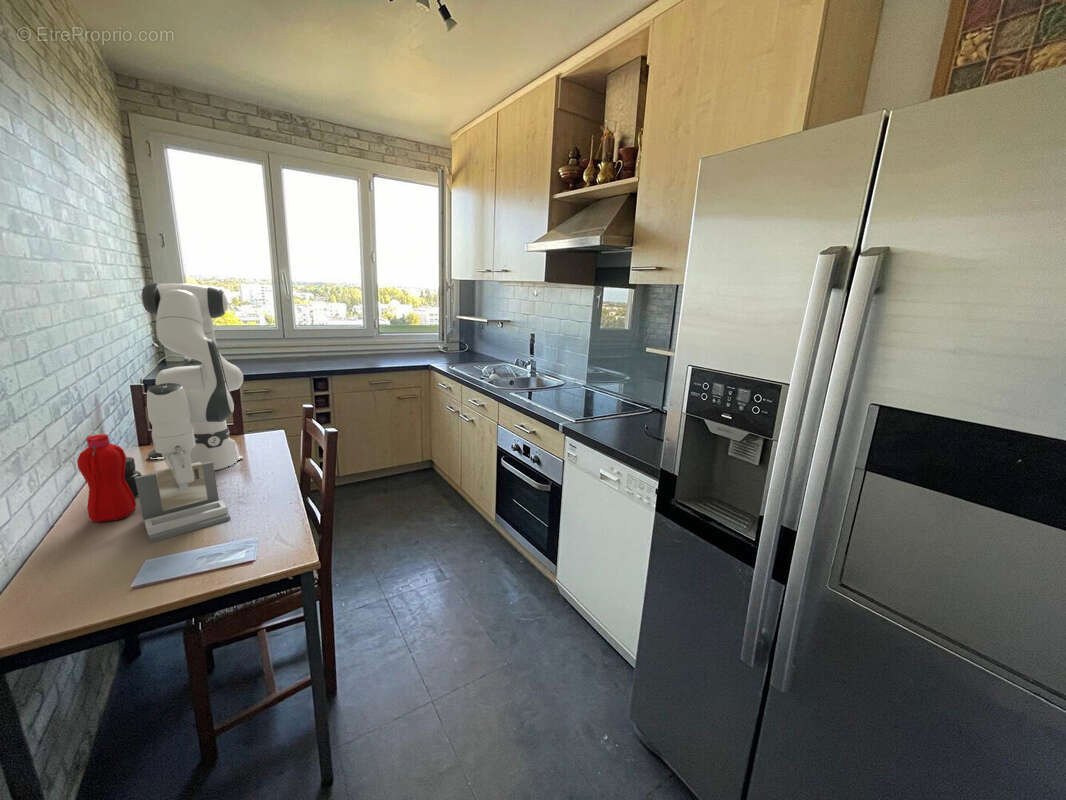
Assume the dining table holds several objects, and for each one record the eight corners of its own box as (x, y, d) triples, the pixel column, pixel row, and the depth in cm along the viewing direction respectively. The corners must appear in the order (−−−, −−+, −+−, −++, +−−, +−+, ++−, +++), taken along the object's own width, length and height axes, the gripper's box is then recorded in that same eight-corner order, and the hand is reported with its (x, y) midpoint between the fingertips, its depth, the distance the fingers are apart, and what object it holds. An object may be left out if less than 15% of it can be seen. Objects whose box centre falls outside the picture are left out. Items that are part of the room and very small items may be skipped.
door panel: (162, 507, 121) (155, 471, 118) (206, 496, 128) (200, 462, 125) (163, 511, 119) (156, 474, 117) (208, 499, 126) (202, 464, 124)
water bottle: (82, 528, 121) (62, 444, 115) (101, 511, 131) (84, 432, 125) (124, 522, 124) (107, 440, 119) (140, 506, 134) (125, 429, 128)
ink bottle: (107, 494, 141) (100, 460, 139) (143, 486, 147) (137, 453, 145) (108, 504, 135) (100, 468, 132) (145, 496, 141) (139, 461, 138)
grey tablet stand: (143, 521, 125) (134, 476, 122) (218, 502, 138) (211, 461, 135) (150, 542, 115) (140, 494, 112) (230, 519, 128) (223, 475, 124)
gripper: (196, 449, 115) (204, 497, 118) (182, 432, 128) (190, 475, 132) (165, 455, 110) (174, 504, 113) (155, 436, 124) (163, 481, 127)
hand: (182, 488), depth 123 cm, fingers closed on door panel, 2 cm apart
